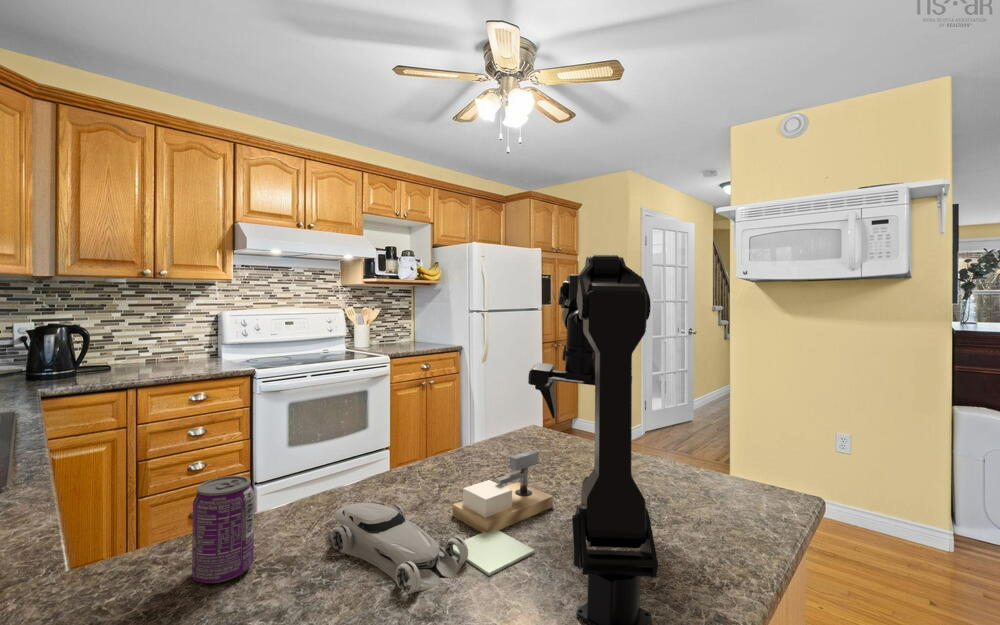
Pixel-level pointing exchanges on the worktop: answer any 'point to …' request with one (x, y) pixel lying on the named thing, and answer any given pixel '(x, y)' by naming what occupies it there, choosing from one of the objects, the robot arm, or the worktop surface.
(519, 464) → the lever handle
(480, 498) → the cover
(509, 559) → the pad
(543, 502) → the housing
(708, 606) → the worktop surface
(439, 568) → the car model
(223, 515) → the beverage can
